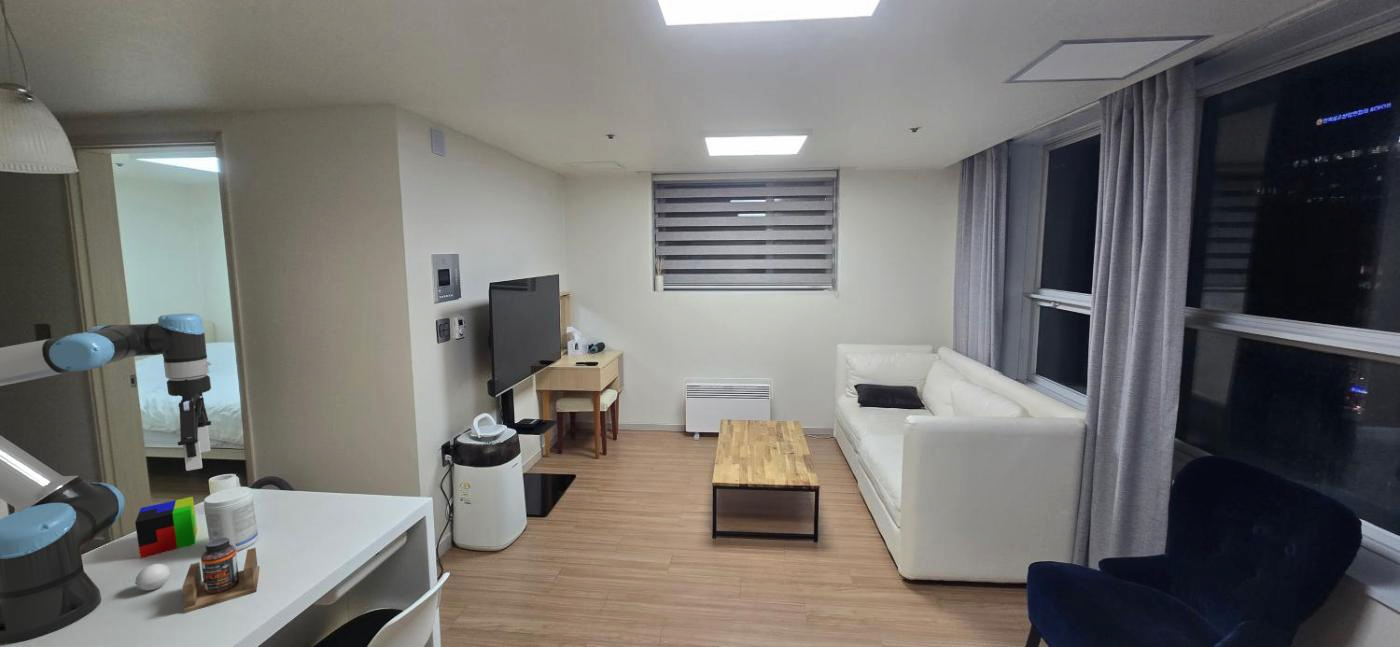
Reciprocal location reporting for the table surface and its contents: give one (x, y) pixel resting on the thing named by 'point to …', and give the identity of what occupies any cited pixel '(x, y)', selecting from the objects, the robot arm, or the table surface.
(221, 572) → the supplement bottle
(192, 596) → the holder cradle
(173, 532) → the puzzle toy
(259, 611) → the table surface
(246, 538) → the supplement tub
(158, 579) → the white oval egg shape
